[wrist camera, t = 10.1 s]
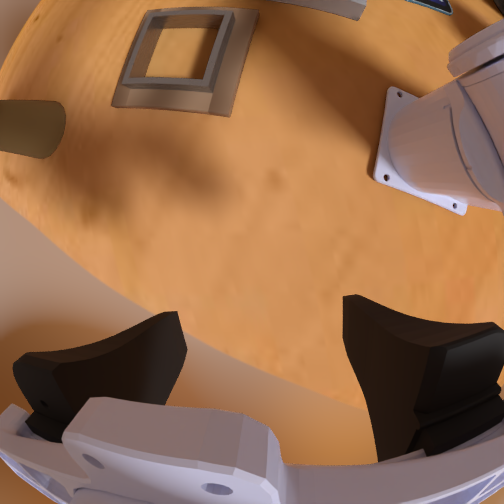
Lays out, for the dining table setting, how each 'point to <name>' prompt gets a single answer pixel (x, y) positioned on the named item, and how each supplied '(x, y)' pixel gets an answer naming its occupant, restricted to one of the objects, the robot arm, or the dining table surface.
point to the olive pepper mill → (31, 127)
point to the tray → (333, 6)
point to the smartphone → (435, 5)
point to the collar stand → (183, 89)
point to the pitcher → (500, 5)
